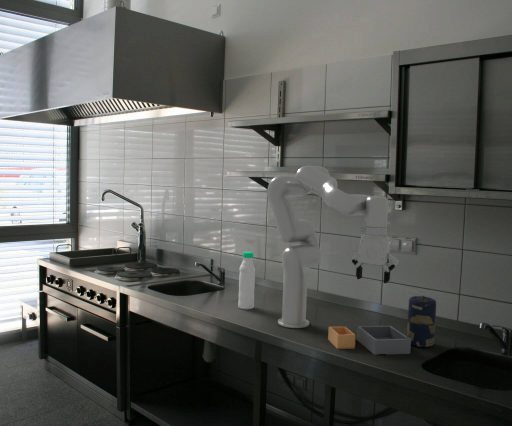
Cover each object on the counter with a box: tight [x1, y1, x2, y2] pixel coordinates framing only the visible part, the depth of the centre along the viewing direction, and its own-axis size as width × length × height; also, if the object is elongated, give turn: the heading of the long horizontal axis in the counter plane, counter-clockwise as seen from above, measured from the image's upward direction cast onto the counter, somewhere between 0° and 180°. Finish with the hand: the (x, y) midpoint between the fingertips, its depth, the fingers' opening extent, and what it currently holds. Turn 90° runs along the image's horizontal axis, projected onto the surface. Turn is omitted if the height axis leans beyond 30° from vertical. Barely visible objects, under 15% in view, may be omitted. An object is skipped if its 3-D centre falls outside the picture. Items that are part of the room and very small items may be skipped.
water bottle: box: [237, 251, 256, 310], centre depth 228 cm, size 7×7×25 cm
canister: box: [406, 295, 437, 348], centre depth 186 cm, size 10×10×18 cm
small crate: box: [327, 326, 356, 350], centre depth 184 cm, size 10×6×5 cm, turn 11°
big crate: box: [356, 325, 412, 356], centre depth 182 cm, size 16×13×5 cm
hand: (372, 280), depth 179 cm, fingers open, 9 cm apart
